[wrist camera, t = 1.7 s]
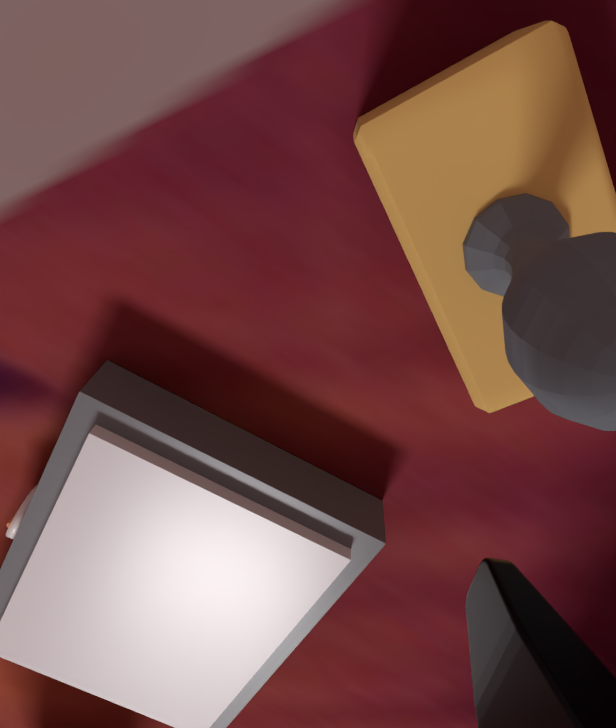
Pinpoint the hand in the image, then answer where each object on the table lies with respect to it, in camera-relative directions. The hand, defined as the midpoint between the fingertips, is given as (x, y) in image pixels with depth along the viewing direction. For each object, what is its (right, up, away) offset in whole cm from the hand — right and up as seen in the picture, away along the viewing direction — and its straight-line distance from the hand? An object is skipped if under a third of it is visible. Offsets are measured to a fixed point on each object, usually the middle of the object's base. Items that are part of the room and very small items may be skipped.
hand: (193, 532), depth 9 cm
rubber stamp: (+8, +8, +11) cm, 16 cm away
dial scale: (-5, -6, +18) cm, 20 cm away
